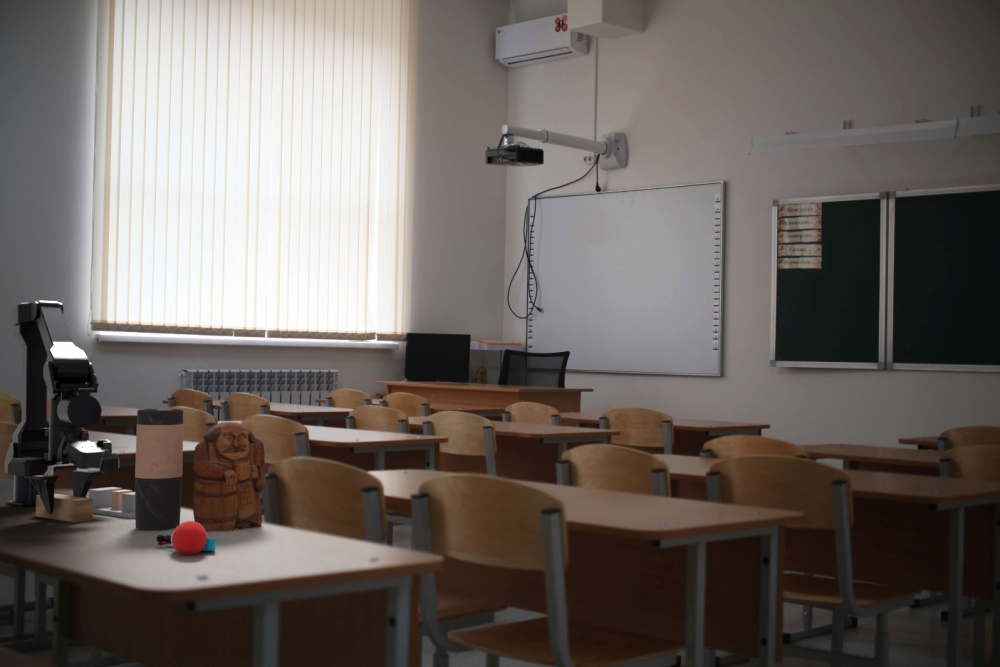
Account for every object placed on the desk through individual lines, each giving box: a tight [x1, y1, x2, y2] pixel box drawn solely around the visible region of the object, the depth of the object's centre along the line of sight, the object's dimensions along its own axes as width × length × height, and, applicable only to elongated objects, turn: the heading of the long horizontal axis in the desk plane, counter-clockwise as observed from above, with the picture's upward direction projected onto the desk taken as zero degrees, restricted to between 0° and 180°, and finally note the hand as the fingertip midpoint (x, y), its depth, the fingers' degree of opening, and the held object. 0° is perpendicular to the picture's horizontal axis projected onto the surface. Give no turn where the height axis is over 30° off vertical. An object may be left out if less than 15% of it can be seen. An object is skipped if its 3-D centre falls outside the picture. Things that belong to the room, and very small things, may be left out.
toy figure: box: [156, 520, 217, 556], centre depth 148 cm, size 8×5×15 cm
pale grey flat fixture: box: [88, 486, 135, 519], centre depth 186 cm, size 16×9×4 cm, turn 57°
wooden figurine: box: [192, 421, 266, 532], centre depth 169 cm, size 12×6×18 cm, turn 135°
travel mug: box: [134, 408, 184, 532], centre depth 168 cm, size 8×8×20 cm
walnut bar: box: [35, 493, 94, 523], centre depth 177 cm, size 12×4×4 cm, turn 56°
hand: (64, 512), depth 177 cm, fingers open, 5 cm apart
